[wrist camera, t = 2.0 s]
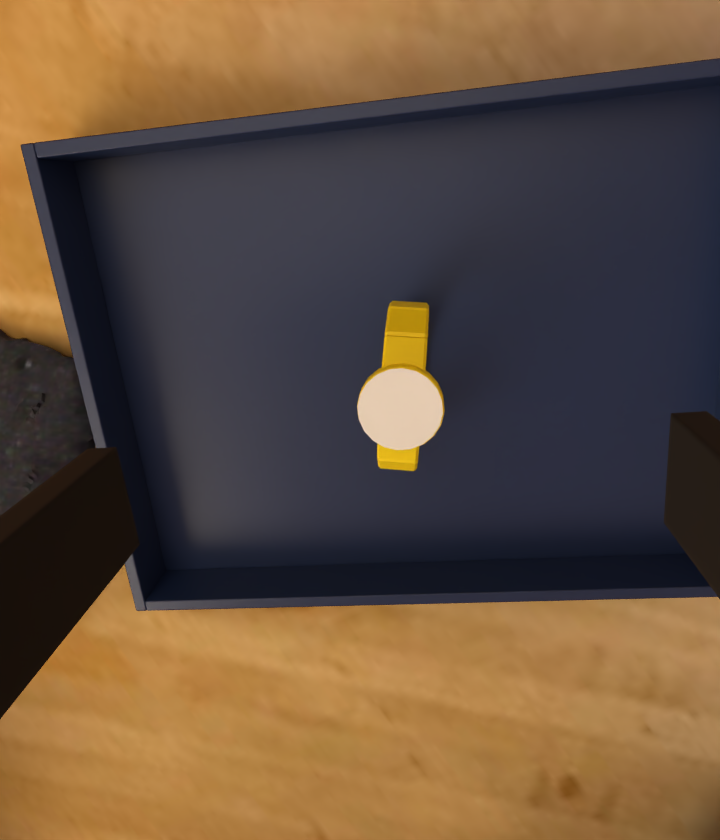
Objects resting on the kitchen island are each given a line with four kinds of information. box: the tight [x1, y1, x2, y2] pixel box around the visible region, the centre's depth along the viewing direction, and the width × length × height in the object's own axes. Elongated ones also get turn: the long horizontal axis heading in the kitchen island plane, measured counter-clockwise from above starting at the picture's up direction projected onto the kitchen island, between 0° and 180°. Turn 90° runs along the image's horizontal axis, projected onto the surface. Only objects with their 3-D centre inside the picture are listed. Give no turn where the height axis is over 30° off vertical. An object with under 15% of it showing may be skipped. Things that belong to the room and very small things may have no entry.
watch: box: [357, 301, 445, 471], centre depth 23 cm, size 6×3×6 cm, turn 177°
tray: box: [21, 58, 720, 611], centre depth 25 cm, size 25×19×3 cm
